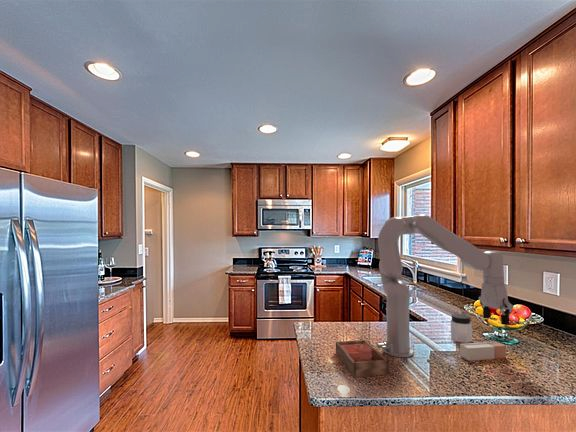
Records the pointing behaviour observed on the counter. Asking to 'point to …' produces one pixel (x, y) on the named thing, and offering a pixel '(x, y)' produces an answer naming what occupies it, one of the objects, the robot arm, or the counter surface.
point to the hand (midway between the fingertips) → (495, 320)
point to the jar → (461, 328)
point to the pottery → (358, 352)
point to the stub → (498, 349)
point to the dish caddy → (362, 368)
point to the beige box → (477, 351)
